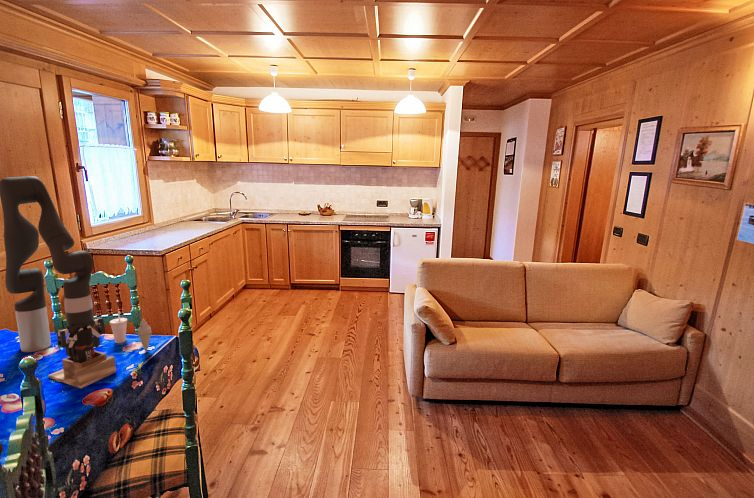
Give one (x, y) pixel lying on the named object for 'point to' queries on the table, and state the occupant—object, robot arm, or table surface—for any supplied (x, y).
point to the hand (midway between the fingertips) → (84, 351)
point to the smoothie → (119, 328)
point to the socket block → (79, 364)
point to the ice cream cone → (144, 333)
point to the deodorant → (83, 346)
